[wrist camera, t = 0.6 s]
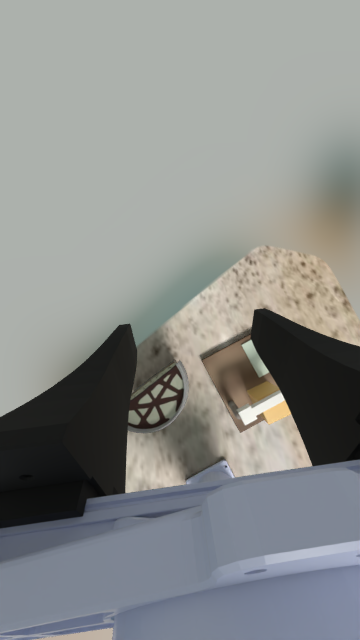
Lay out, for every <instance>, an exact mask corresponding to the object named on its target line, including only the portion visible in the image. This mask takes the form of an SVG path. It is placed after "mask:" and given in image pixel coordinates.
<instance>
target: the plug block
mask: <svg viewBox="0 0 360 640" xmlns="http://www.w3.org/2000/svg"><path fill="white" fill-rule="evenodd" d="M278 390H280V389H279V387H277V386H275V385H273V384H271V383H270V382H268V381H266V382H264V383H262V384H260V385H258V386H256V387H253V388H251V389H249V390H247V393H248V395H249V397H250V399H251V401H252V403H253V404H254V403H256V402H258V401H260V400H262V399H264V398H265V397H267V396H269V395H271V394H273V393H275V392H276V391H278ZM290 414H291V412H290V410H289V408H288V405H287V403H286V401H283V402H281V403H279V404H277V405H275V406H274V407H272V408H270V409H268V410H266V411H264V412H262V413H261V414H259V415H260V416H261V417H262V418H263V419H264V420H265V421H266V422H267V423H268V424H269V425H270V424H272V423H274V422H276V421H278V420H280V419H282V418H284V417H286V416H288V415H290Z"/></svg>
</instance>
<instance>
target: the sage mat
mask: <svg viewBox="0 0 360 640" xmlns="http://www.w3.org/2000/svg"><path fill="white" fill-rule="evenodd" d="M241 346H242V348H243V349H244V351H245V353H246V355H247V357H248V358H249V360H250V362H251V364H252V366H253V368H254V369H255V371H256V373H257V375H258V377H259V378H260V377H261V376H263V375H265V374H267V373H269V371H268V369H267V368H266V366H265V365H264V363H263V362H262V360H261V358H260V357H259V355H258V353H257V352H256V349H255V347H254V345H253V343H252V340H250V341H248V342H246V343H244V344H242V345H241Z"/></svg>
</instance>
